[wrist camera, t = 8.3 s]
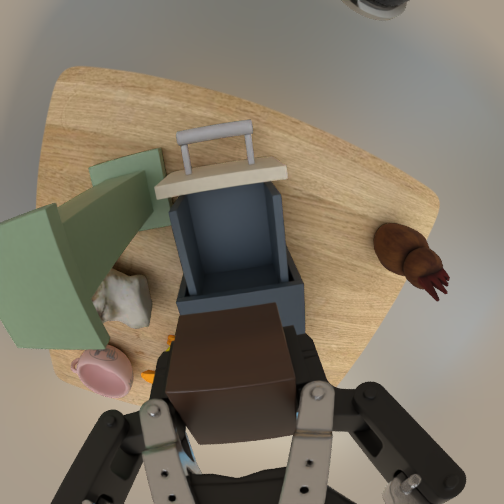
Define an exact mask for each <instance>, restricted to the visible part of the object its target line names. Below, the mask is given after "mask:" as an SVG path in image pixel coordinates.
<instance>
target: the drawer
mask: <svg viewBox="0 0 504 504" xmlns="http://www.w3.org/2000/svg"><path fill="white" fill-rule="evenodd" d="M251 134H253V126H252V121H251V120H242V121H235V122H228V123H222V124H215V125H210V126H204V127H198V128H193V129H188V130H183V131H178V132H177V133H176V139H177V143H178V145H179V146H181V151H182V157H183V162H184V168H185V170H180V171H175V172H171V173H170V174H169V175H168V176H166V177H165V178H164V179H163V180H162V181H161V182H160V183H158V184H157V185H156V186H155V187H154V189H155V193H156V198H157V200H160V199H165V198H170V197H175V196H179V197H178V198H177V200H176V201H175V203H174V204H173V206H172V207H171V209H170V210H169V212H168V213H169V218H170V222H171V226H172V230H173V234H174V238H175V242H176V246H177V250H178V254H179V258H180V262H181V265H182V269H183V273H184V276H185V280H186V283H187V287H188V290H189V294H190V296H197V295H205V294H212V293H219V292H226V291H233V290H240V289H247V288H253V287H260V286H266V285H273V284H279V283H285V282H289V278H288V265H287V253H286V241H285V230H284V219H283V208H282V198H281V194H280V193H279V191H278V190H277V188H276V187H275V186H274V184H273V183H272V182H271V181H276V180H284V179H288V173H287V166H286V165H285V164H283V163H282V162H281V161H279V160H278V159H276V158H275V157H273V156H268V157H260V158H254V152H253V145H252V137H251ZM240 135H244V136H245V143H246V150H247V158H248V159H245V160H238V161H231V162H225V163H218V164H212V165H207V166H201V167H195V168H192V167H191V161H190V156H189V150H188V145H187V144H191V143H197V142H202V141H208V140H213V139H220V138H226V137H233V136H240Z"/></svg>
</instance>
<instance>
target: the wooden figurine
mask: <svg viewBox="0 0 504 504" xmlns="http://www.w3.org/2000/svg"><path fill="white" fill-rule="evenodd" d="M374 249H375V252H376V255H377V256H378V258H379V260H380V262H381V264H382V265H383V266H384V267H385V268H386V269H388V270H389V271H391V272H393V273H395V274H398V275H402V276H405V277H406V279H407V280H408V281H409V282H410V283H411V284H412V285H413V286H415V287H417V288H419V289H425V290H426V291H427V292H428V293H429V294H430V295H431V296H432V297H433V298H434V299H435V300H436V301H439V297H438V295H437V293H436V291H435V289H434V287H435V288H437V289H439V290H440V291H441V292H443V293H444V294H447V290H446V289H445V288H444V286H443V285H445V286H448V282H447V281H449V278H450V277H449V276H448V274H447V273H446V271H445V270H444V269H443V264H442V261H441V259H440V257H439V256H438V255H437V254H436V253H435V252H434V251H432V250H431V249H430V248H429V246H428V243H427V241H426V239H425V237H424V236H423V235H422V234H420V233H419V232H418V231H416V230H414V229H412V228H410V227H407V226H404V225H400V224H396V223H388V224H384V225H383V226H381V227H380V228H379V229H378V231H377V232H376V234H375V237H374ZM446 280H447V281H446ZM442 284H443V285H442ZM433 286H434V287H433Z"/></svg>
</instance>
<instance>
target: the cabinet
mask: <svg viewBox="0 0 504 504" xmlns="http://www.w3.org/2000/svg"><path fill="white" fill-rule="evenodd" d="M286 253H287V265H288V278H289V282H285V283H279V284H273V285H266V286H260V287H253V288H247V289H240V290H233V291H226V292H219V293H212V294H205V295H197V296H190V294H189V290H188V287H187V283H186V280H185V276H184V273H183V277H182V281H181V285H180V289H179V293H178V297H177V301H176V304H177V307H178V310H179V313H180V315H187V314H195V313H203V312H211V311H219V310H226V309H233V308H240V307H247V306H254V305H260V304H267V303H273V302H276V304H277V307H278V311H279V315H280V319H281V323H282V327H284V326H290V325H294V328H295V331H296V334H297V335H299V334H305V301H304V283H303V281H302V279H301V276H300V274H299V272H298V270H297V268H296V265H295V263H294V261H293V259H292V257H291V254H290V252H289V250H288V248H287V246H286Z"/></svg>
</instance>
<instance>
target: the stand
mask: <svg viewBox="0 0 504 504" xmlns="http://www.w3.org/2000/svg"><path fill="white" fill-rule="evenodd" d="M89 172H90V177H91V181H92V185H93V187H92V188H90V189H88V190H86V191H85V192H83V193H81V194H79V195H78V196H76V197H74V198H72V199H71V200H69V201H67V202H66V203H64V204H62V205H61V206H59V207H58V208H57V205H56V203H52V204H49V205H46V206H43V207H41V208H38V209H35V210H32V211H29V212H27V213H24V214H21V215H19V216H16V217H13V218H11V219H8V220H6V221H3V222H1V223H0V320H1V321H2V323H3V325H4V326H5V328H6V330H7V332H8V333H9V335H10V336H11V338H12V340H13V341H14V343H15V344H16V346H17V347H18V348H33V349H34V348H35V349H64V350H95V349H106V347H107V344H108V342H109V340H110V336H109V335H108V333H107V331H106V329H105V327H104V325H103V323H102V321H101V319H100V317H99V315H98V313H97V311H96V309H95V306H94V304H93V302H92V300H91V298H92V297H93V295H94V294H95V292H96V290H97V289H98V287H99V286H100V284H101V283H102V281H103V280H104V278H105V277H106V275H107V274H108V273H109V271H110V270H111V268H112V267H113V265H114V264H115V262H116V261H117V260H118V258H119V257H120V255H121V254H122V253H123V251H124V250H125V249H126V247H127V246H128V244H129V243H130V242H131V240H132V239H133V238H134V236H135V235H136V234H137V232H138V231H143V230H148V229H154V228H159V227H165V226H170V225H171V222H170V218H169V213H168V212H169V210H170V209H171V207H172V206H173V204H172V199H171V197H170V198H165V199H160V200H157V198H156V193H155V189H154V187H155V186H156V185H157V184H158V183H160V182H161V181H162V180H163V179H164V178H165V177H166V176H167V175H166V170H165V165H164V160H163V155H162V149H161V148H156V149H152V150H148V151H144V152H140V153H136V154H132V155H128V156H125V157H121V158H118V159H114V160H111V161H107V162H104V163H101V164H97V165H94V166H92V167H89Z"/></svg>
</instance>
